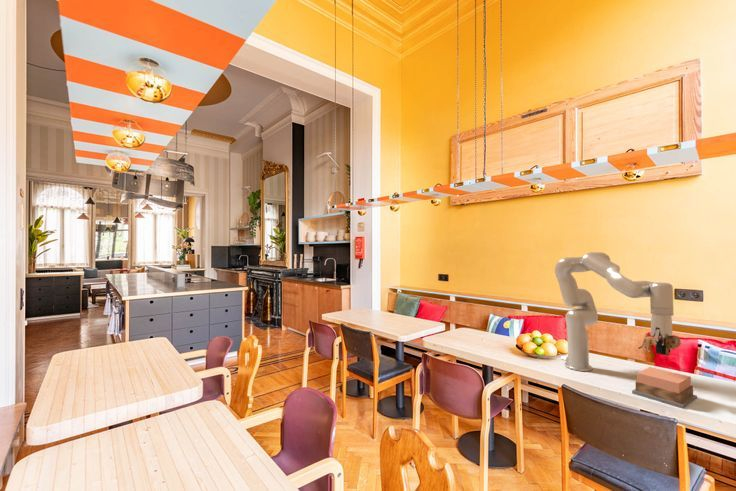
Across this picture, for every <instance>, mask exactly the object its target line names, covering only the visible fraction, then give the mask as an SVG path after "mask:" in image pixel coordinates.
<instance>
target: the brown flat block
mask: <svg viewBox="0 0 736 491" xmlns="http://www.w3.org/2000/svg"><path fill="white" fill-rule="evenodd" d="M635 389H636V391H638V392H641V393H645V394H648V395H651V396H655V397H658V398H662V399H665V400H669V401H672V402H675V403H679V404H681V403H683V402H684V401H686V400H687V399H689V398H690V397H692V396H693V395H694V386H693V385H691V386H690V387H688V388H687V389H685V390H684V391H682V392H681V393H676V392H672V391H669V390H665V389H661V388H658V387H654V386H650V385H647V384H643V383H639V382H637V381H635Z"/></svg>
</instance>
